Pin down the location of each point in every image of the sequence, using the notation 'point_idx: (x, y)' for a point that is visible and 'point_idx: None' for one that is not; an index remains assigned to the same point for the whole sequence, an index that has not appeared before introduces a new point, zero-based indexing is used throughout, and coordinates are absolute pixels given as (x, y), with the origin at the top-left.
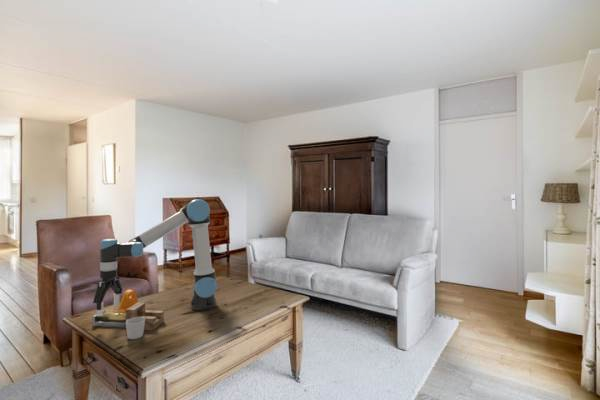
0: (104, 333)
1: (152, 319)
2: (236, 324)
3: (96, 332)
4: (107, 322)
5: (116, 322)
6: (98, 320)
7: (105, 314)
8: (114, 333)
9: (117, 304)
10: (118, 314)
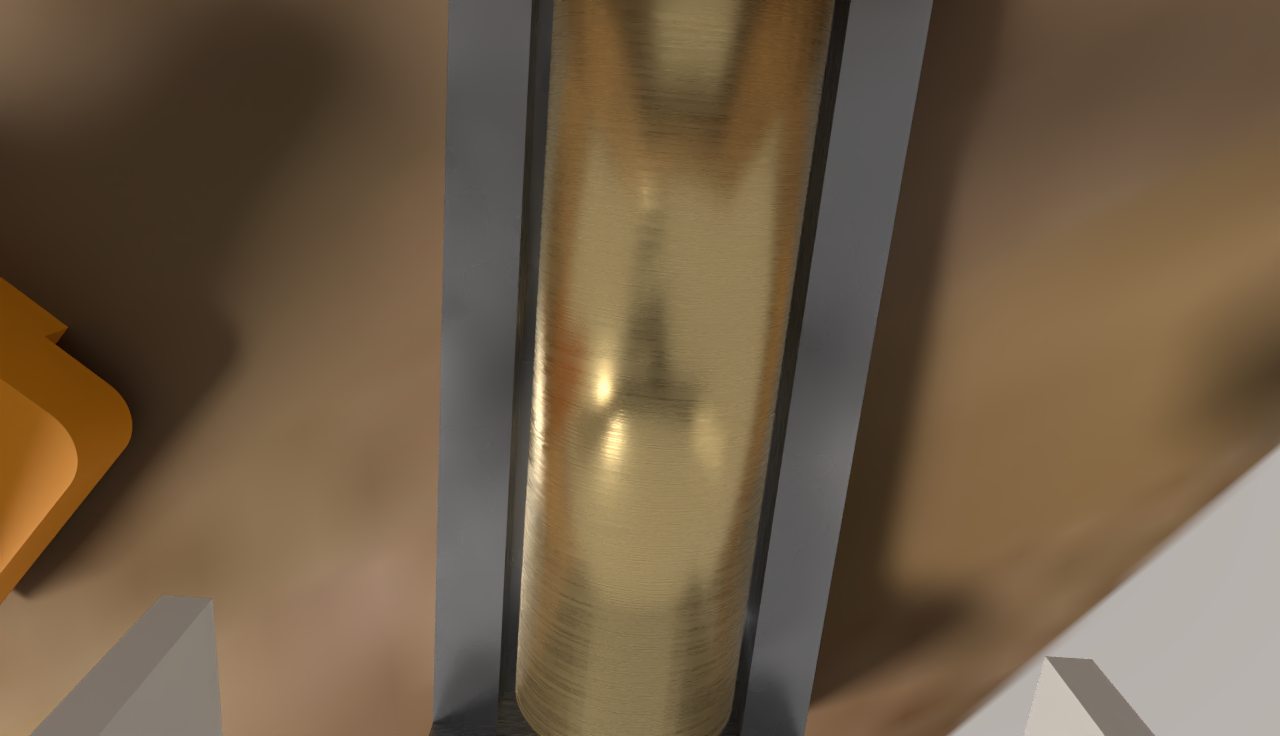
0: (1175, 331)
1: None
2: None
3: (1093, 509)
4: (839, 487)
5: (859, 272)
6: None
7: (694, 691)
8: (1217, 111)
9: (175, 684)
10: (728, 336)
